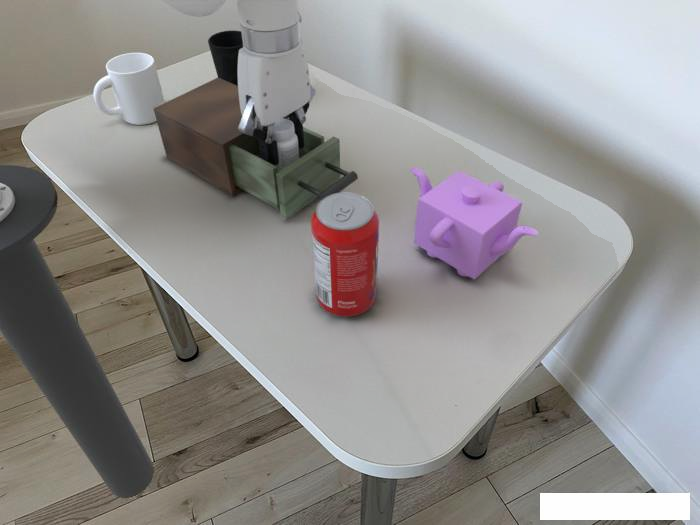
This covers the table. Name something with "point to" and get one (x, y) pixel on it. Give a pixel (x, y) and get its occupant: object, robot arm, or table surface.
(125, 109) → the mug
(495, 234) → the teapot
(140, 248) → the table surface
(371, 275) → the soda can
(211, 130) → the cabinet
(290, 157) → the pill bottle
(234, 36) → the cup
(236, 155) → the drawer
